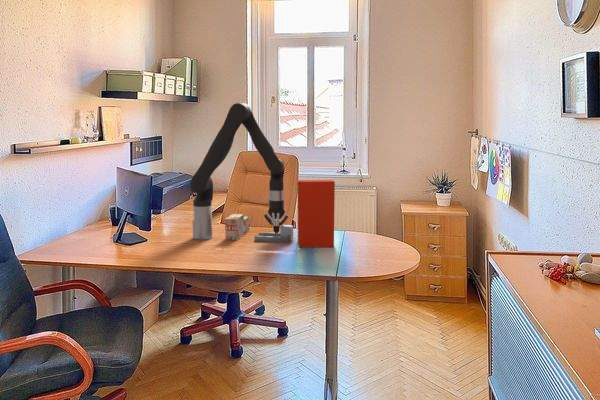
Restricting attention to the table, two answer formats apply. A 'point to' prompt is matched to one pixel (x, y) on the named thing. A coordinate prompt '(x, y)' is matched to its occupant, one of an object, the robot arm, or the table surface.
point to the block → (286, 231)
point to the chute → (271, 237)
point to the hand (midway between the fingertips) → (276, 232)
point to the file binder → (316, 213)
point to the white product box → (236, 226)
